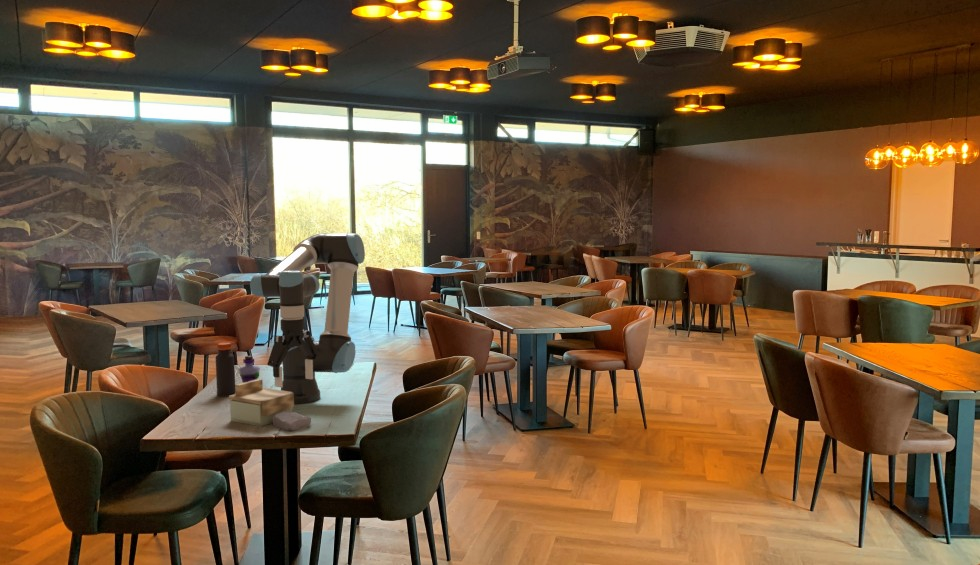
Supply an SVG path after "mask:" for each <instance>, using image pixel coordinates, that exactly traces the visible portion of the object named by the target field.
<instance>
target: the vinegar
mask: <svg viewBox="0 0 980 565" xmlns="http://www.w3.org/2000/svg"><path fill="white" fill-rule="evenodd" d="M217 351H218V353H217V355H216V356H215V380H216V395H217V396H219V397H229V396H230V395H234V394H236V390H235V385H236V370H235V369H236V368H235V356H234V354H233V353H232V352H231V351H232V343H231V342H220V343H219V342H218V343H217Z"/></svg>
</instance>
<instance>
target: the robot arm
mask: <svg viewBox="0 0 980 565" xmlns="http://www.w3.org/2000/svg"><path fill="white" fill-rule="evenodd" d="M365 251H366V250H365V246H364V242H363V239H362V237H361V236H360V234H358V233H355V232H354V233H353V232H341V233H340V232H339V233H338V232H331V233H326V232H325V233H323V232H322V233H317V234H314V235H311V236H308V237H307V238H305V239H303V240H302V241H300V242H299V243H297V244H296V245H295V247H294V248H293V250H292V252H291V253H289V254H288V255H287V256H286V257H284V258H283V259H282V260H281V261H280V262H279V263H278V264H276V265H275V266H274V267H272V268H271V269H270V270H269V271H268V272H267V273H265V274H255V275H253V276H252V278H251V279H250V282H249V288H250V292H251V294H252V295H253V296H254V297H260V298H279V308H280V310H279V313H280V317H279V318H281V320H280V330H281V332H282V334H281V335H278V334H277V335H274V337H273V338H274V340H273V341H274V342H273V344H272V348H271V351H270V355H269V357H268V360H267V366H269V367H271V368H272V373H273V374H272V376H273V377H274V387H275V388H280V390H282V391H289V392H292V393H294V405H295V404H306V403H312V402H315V401H318V400H320V399H321V390H320V388H319V386H318V383H317V379H316V373H334V374H339V373H347V372H348V371H350V370H351V368H352V366H353V364H354V362H355V358H356V351H357V350H356V344H355V343H354V342H353V341H352V337H351V336H350V334H349V333H348V332H349V322H350V311H351V303H352V291H353V281H354V274H355V272H356V271H358V270H359V264H363V263H364V261H365V255H366V254H365V253H366V252H365ZM316 264H327V268H329V270H330V275H329V277H330V278H329V283H328V284H329V285H328V286H329V287H328V294H327V304H326V313H325V320H324V321H325V322H324V331H323V332H322V333H320V334H319V338H318V339H319V340H315V337H314V336H312V332H311V330H306V329H305V328H306V327H305V325H306V324H305V323H306V322H305V319H304V318H305V300H304V298H309V297H312V296H315V295H316V294H317V293H318V292H319V289H320V286H321V285H320V281H319V279H318V277H317V276H316V275H313V274H310V273H304V274H303V271H304V270H305V269H306V268H307V267H308V268H309V267H311V266H314V265H316ZM281 365H282V366H281Z"/></svg>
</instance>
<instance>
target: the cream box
mask: <svg viewBox="0 0 980 565" xmlns="http://www.w3.org/2000/svg"><path fill="white" fill-rule="evenodd" d="M229 405H230V406H229V407H230V421H231V422H234V423H235V422H236V423H241V424H244V425H250V426H256V427H263V426H266V425H269V424H273V416H274V415H275V414H277V413H280V412H293V410H292V409H293V408H290V409H286V410H283V411H280V412H277V413H274V414H270V415H267V416H262V404H261V405H259V404H253V403H247V402H241V401H235V400H229Z"/></svg>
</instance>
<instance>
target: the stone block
mask: <svg viewBox="0 0 980 565" xmlns="http://www.w3.org/2000/svg"><path fill="white" fill-rule="evenodd" d="M311 423H312V418H311V417H309V416H304V415H302V414H301V413H298V412H295V411H292V412H280V413H277V414H275V415H274V416H273V422H272V425H273V426H274V427H277V428H279V429H281V430H283V431H287V432H294V431H299V430H302V429H306V428H307V429H308V428H309V427H310V425H311Z"/></svg>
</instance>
